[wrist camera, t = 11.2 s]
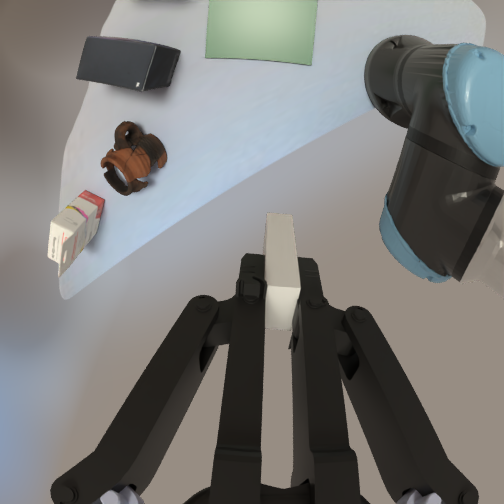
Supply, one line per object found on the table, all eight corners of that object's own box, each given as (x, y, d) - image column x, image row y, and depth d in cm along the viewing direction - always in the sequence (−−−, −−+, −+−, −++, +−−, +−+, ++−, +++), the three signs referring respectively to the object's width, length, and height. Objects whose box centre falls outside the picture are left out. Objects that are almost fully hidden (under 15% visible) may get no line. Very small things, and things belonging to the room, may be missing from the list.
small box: (182, 48, 36) (158, 44, 27) (169, 87, 39) (143, 94, 31) (121, 37, 34) (85, 34, 25) (110, 74, 38) (74, 81, 29)
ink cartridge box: (84, 188, 49) (39, 229, 37) (105, 199, 50) (64, 243, 38) (77, 223, 54) (38, 268, 42) (96, 234, 55) (60, 281, 43)
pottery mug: (176, 176, 48) (142, 206, 44) (138, 166, 52) (106, 193, 47) (159, 111, 39) (118, 138, 35) (120, 109, 43) (82, 133, 38)
